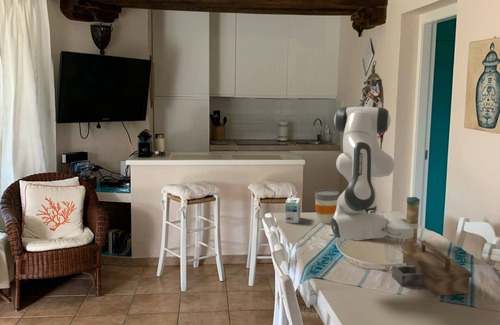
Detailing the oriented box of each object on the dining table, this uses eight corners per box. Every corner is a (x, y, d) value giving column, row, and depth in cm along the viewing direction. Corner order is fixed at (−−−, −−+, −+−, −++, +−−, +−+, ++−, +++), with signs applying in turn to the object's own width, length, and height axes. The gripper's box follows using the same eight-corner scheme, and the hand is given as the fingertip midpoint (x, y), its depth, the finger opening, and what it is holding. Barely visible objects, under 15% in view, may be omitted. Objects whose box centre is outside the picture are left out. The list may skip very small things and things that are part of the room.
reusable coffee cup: (313, 217, 261) (313, 189, 258) (337, 217, 261) (337, 189, 258) (315, 224, 249) (315, 195, 246) (340, 224, 248) (341, 195, 246)
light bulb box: (298, 223, 251) (298, 202, 249) (285, 222, 252) (285, 202, 250) (300, 217, 261) (300, 197, 259) (287, 216, 262) (287, 197, 260)
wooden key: (406, 257, 178) (410, 200, 174) (401, 252, 182) (404, 196, 178) (418, 256, 178) (422, 199, 174) (413, 251, 182) (416, 196, 179)
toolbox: (413, 297, 168) (415, 265, 166) (382, 267, 194) (383, 238, 192) (470, 293, 170) (473, 262, 168) (432, 264, 197) (433, 236, 195)
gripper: (389, 226, 165) (428, 224, 167) (367, 209, 185) (402, 207, 187) (388, 244, 167) (427, 242, 168) (366, 225, 187) (401, 223, 188)
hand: (414, 223), depth 178 cm, fingers closed on wooden key, 3 cm apart
